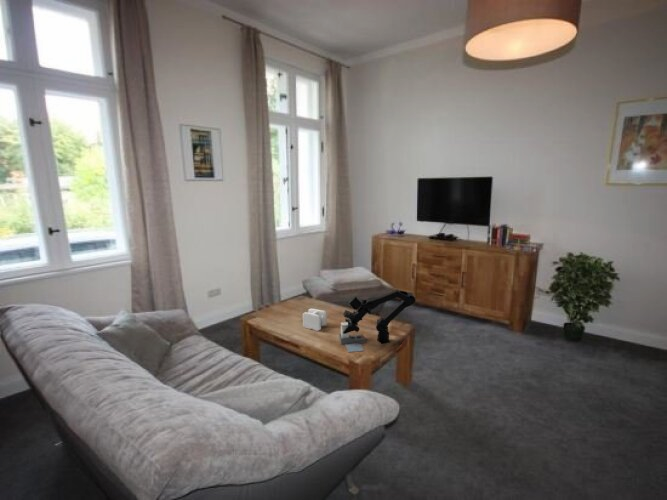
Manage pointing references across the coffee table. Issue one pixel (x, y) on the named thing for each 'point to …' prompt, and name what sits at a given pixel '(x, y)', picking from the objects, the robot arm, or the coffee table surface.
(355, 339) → the power strip
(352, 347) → the rubber pad
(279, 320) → the coffee table surface
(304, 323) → the cable organizer
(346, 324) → the block
